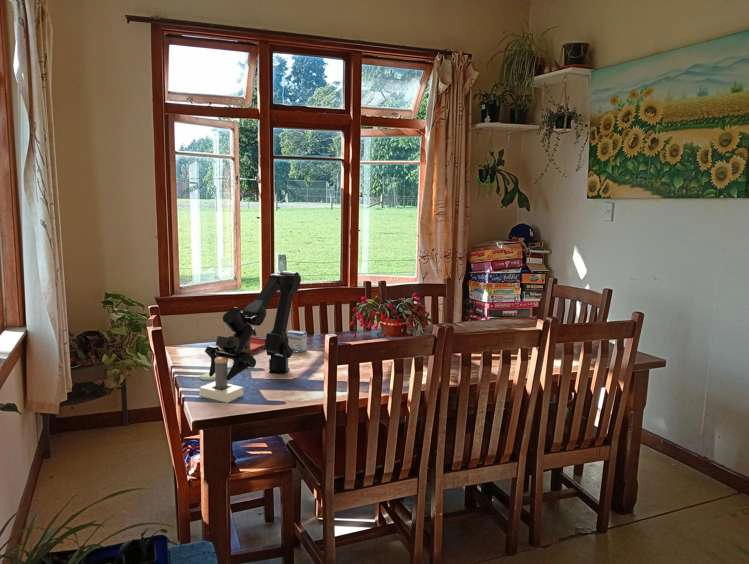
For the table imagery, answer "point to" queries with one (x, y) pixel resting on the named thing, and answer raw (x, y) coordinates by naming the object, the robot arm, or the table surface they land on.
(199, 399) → the table surface
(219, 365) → the plug
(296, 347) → the medicine box
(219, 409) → the table surface
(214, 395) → the square frame
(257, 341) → the plant saucer
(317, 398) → the table surface
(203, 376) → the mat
